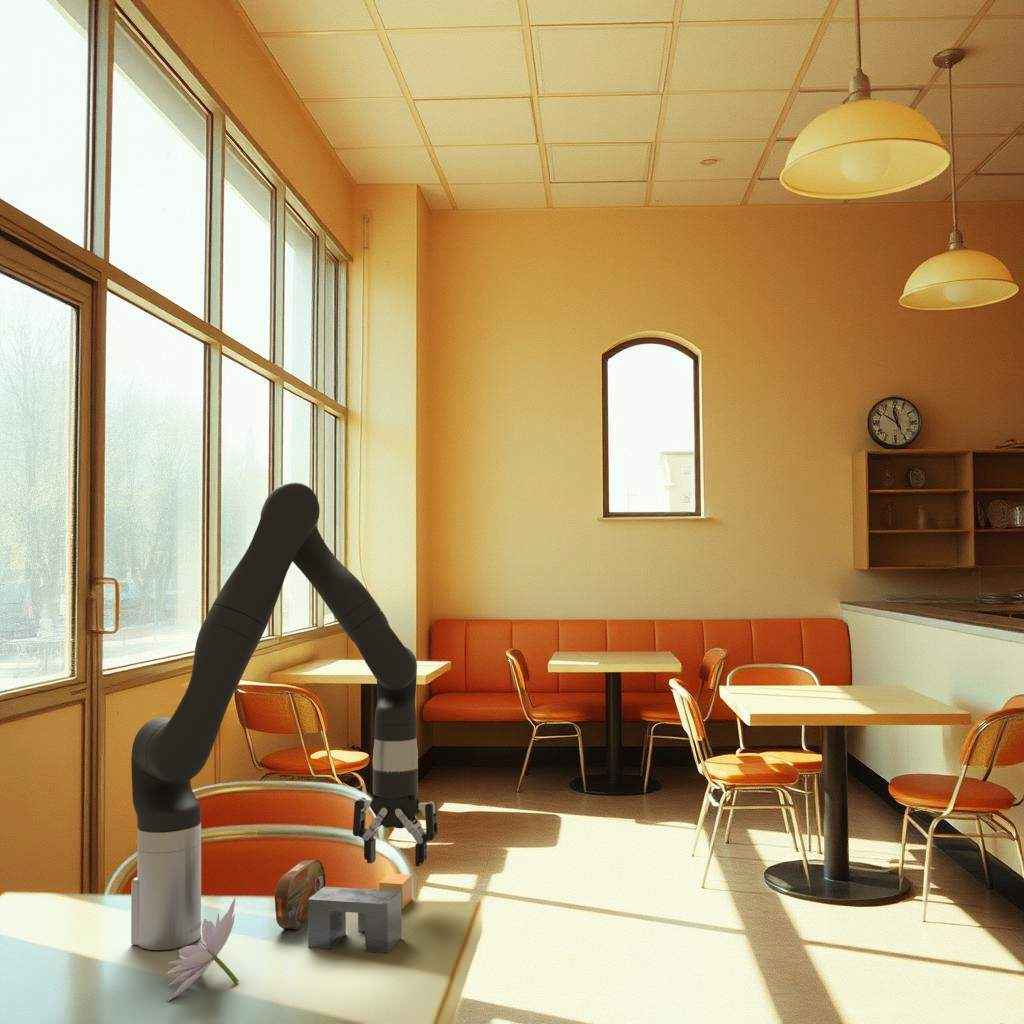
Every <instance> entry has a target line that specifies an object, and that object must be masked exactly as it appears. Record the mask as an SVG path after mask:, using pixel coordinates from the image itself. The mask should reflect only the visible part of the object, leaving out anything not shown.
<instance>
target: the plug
mask: <svg viewBox="0 0 1024 1024" xmlns="http://www.w3.org/2000/svg"><path fill="white" fill-rule="evenodd" d="M378 884H379V885H378V886H379V887H378V890H392V891H401V910H402V909H404V908H405V907H406V906H407V905H408V904H409V903H410V902H411V901H412V900H413V875H412V874H405V873H401V874H400V873H389V874H387V875H386V876H385V877H384V878H383V879H381V880H380V881H379V882H378ZM357 931H358V932H365V913H357Z"/></svg>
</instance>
